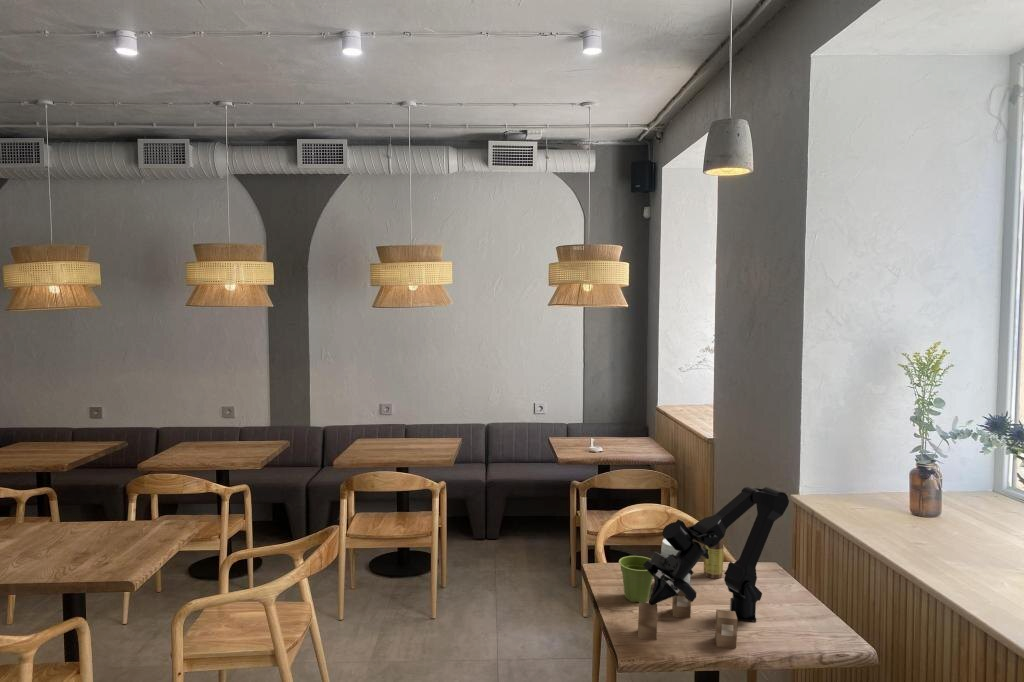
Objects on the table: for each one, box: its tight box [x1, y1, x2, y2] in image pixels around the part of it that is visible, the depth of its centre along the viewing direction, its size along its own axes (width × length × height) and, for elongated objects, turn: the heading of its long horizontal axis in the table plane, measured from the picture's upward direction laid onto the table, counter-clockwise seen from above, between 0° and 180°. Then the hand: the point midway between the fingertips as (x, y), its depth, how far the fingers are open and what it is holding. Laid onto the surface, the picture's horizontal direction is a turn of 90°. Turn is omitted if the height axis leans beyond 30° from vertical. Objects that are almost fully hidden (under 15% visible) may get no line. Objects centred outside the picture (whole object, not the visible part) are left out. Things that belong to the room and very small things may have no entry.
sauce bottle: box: [703, 537, 725, 579], centre depth 243 cm, size 6×6×20 cm
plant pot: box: [618, 555, 654, 603], centre depth 224 cm, size 12×12×11 cm
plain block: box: [637, 602, 658, 641], centre depth 201 cm, size 5×5×8 cm
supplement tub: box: [660, 538, 691, 586], centre depth 234 cm, size 10×10×15 cm
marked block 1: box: [671, 591, 692, 618], centre depth 214 cm, size 5×5×8 cm
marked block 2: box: [714, 609, 738, 649], centre depth 197 cm, size 5×5×8 cm
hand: (650, 603), depth 200 cm, fingers closed
